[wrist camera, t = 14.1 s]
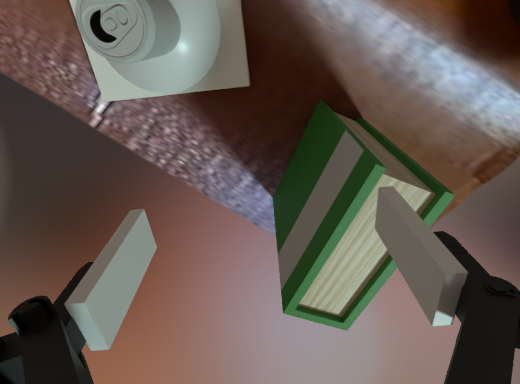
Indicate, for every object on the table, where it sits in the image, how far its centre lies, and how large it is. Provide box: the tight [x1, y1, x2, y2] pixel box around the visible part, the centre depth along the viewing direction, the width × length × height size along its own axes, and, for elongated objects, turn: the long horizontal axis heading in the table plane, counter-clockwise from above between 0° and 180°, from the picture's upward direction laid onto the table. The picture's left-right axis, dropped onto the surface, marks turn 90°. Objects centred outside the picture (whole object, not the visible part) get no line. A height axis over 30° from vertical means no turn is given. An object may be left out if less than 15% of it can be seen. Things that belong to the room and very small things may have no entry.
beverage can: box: [75, 0, 181, 64], centre depth 30 cm, size 6×6×12 cm
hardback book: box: [273, 100, 455, 330], centre depth 38 cm, size 18×7×24 cm, turn 158°
